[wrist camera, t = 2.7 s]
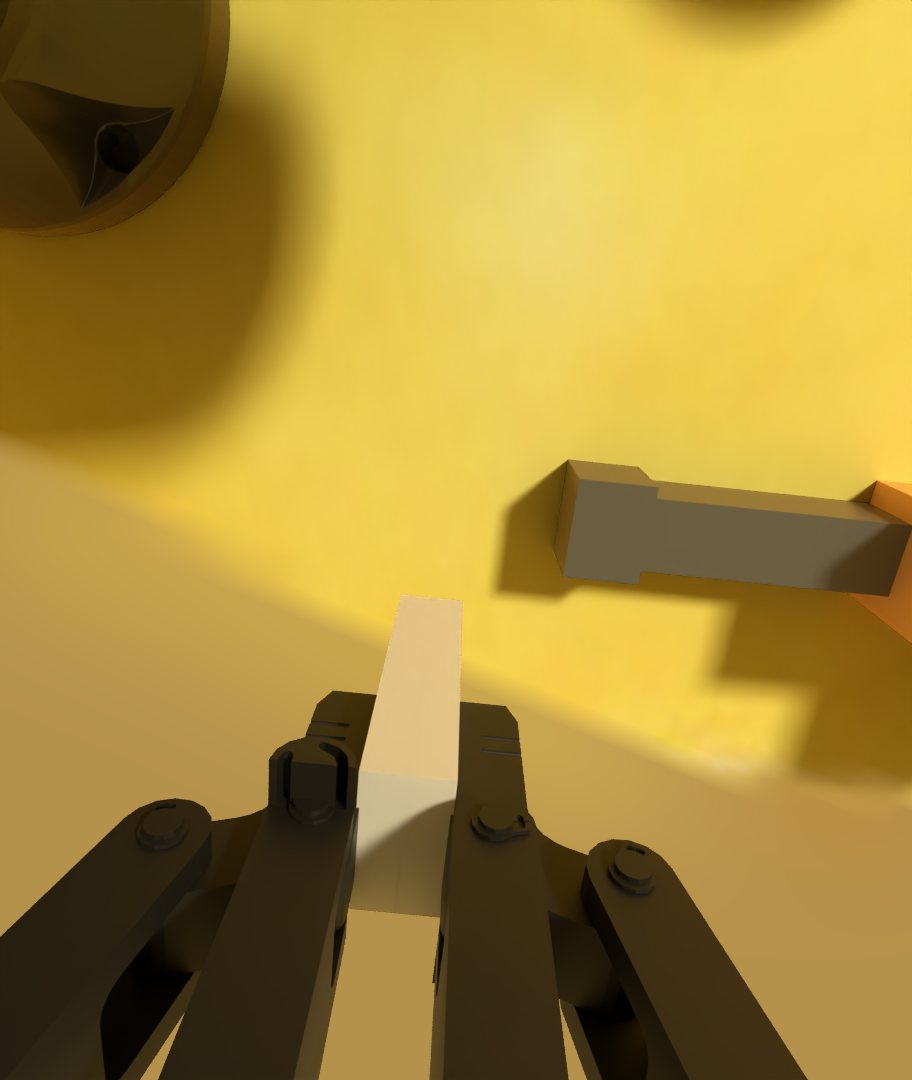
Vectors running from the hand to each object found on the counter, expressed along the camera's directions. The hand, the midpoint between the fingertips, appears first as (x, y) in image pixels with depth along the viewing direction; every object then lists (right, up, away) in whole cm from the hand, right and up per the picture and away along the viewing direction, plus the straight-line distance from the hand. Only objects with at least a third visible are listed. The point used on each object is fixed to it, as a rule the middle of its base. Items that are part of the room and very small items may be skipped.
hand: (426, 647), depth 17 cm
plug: (+14, +3, +13) cm, 19 cm away
